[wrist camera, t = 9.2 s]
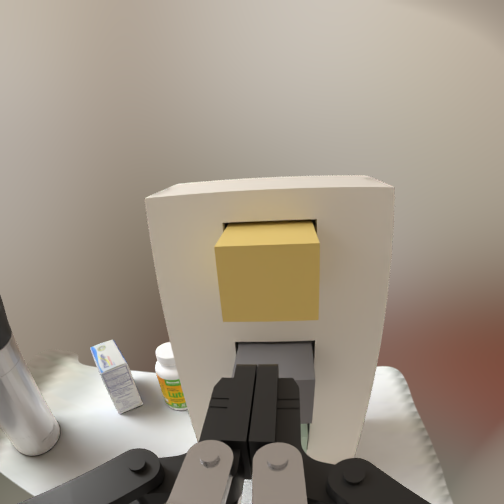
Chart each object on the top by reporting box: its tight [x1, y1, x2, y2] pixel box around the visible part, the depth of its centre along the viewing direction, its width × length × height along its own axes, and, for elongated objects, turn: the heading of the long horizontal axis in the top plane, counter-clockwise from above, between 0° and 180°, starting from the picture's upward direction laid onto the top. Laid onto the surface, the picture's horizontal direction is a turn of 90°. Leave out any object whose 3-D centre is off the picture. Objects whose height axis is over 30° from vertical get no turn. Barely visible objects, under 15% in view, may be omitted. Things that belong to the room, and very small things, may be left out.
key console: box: [145, 175, 395, 464], centre depth 30 cm, size 18×8×32 cm, turn 85°
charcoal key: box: [231, 341, 315, 424], centre depth 25 cm, size 6×6×5 cm
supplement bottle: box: [155, 342, 188, 410], centre depth 43 cm, size 5×5×10 cm
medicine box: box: [90, 340, 143, 414], centre depth 43 cm, size 8×4×9 cm, turn 38°
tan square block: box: [214, 219, 320, 322], centre depth 22 cm, size 6×6×5 cm
